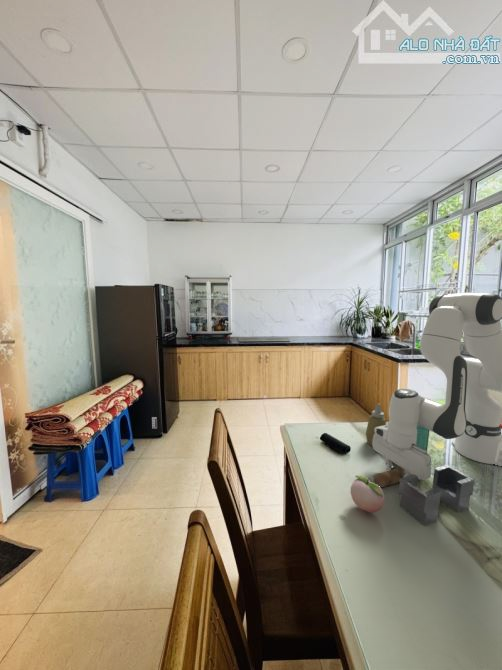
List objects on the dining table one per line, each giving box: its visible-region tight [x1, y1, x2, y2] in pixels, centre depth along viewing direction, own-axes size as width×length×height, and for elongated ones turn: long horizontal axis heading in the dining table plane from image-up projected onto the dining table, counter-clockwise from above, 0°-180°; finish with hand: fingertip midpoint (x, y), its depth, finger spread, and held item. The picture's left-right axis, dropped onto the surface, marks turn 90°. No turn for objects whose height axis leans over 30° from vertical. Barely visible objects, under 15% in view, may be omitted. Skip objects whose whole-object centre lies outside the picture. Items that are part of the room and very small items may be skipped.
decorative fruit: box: [350, 474, 386, 513], centre depth 79 cm, size 9×8×10 cm
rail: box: [373, 466, 412, 488], centre depth 94 cm, size 17×4×4 cm
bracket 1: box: [398, 474, 441, 527], centre depth 79 cm, size 6×8×9 cm
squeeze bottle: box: [365, 403, 387, 447], centre depth 117 cm, size 8×8×18 cm
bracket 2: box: [431, 464, 475, 513], centre depth 84 cm, size 6×8×9 cm
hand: (397, 475), depth 94 cm, fingers closed on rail, 4 cm apart
